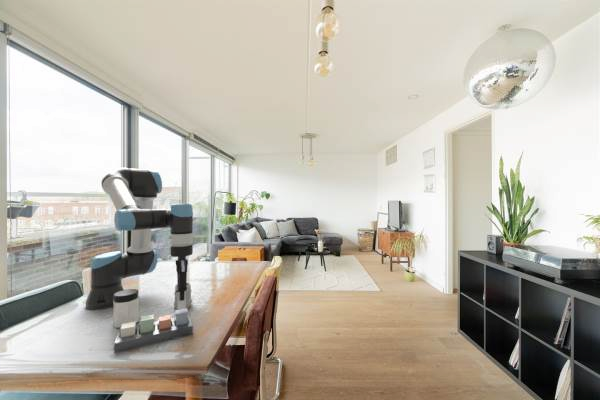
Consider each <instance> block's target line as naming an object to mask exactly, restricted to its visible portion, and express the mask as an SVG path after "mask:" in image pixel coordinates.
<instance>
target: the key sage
mask: <svg viewBox="0 0 600 400" xmlns="http://www.w3.org/2000/svg"><path fill="white" fill-rule="evenodd" d="M154 321H155V314H148V315H143V316H140V319H139V324H140V334H141V333H145V332H150V331H154Z"/></svg>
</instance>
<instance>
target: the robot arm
mask: <svg viewBox="0 0 600 400" xmlns="http://www.w3.org/2000/svg"><path fill="white" fill-rule="evenodd" d="M100 183H101V189H102V190H103V192H104V193H106V194H107V195H109V198H110V200H111V201H112V204H113V206H114V207H115V210H116V211H115V213H114V218H113V219H114V221H113V223H114V227H115V229H116V230H117V231H127V232H128V231H129V232H130V231H131V234H130V235H131V236H130V246H129V247H128V248H126V253H122V251H117V250H115V251H109V252H106V253H102V254H98V255H95V256H94V257H92V259H91V261H90V290H89V293H88V296H87V297H86V301H85V309H87V310H100V309H107V308H112V307H113V300H114V294H115V293H116V292H119V291H122V290H125V289H124V287H123V285H122V281H123V280H122V279H124V278H130V277H135V276H141V275H146V274H150V273H152V272H153V271H155V269H156V267H157V265H158V253H157V251H156V250H155V249H154V247H153V245H151V241H152V230H153V229H155V230H156V229H166V228H167V229H168V228H170V236H168V240H170V245H171V246H170V256H171V257H172V258H177V259H176V260H175V266H176V268H175V269H176V274H177V275H176V278H177V280H176V281H177V283H176V285H177V287H178V288H177V289H178V290H176V292H178V309H177V310H180V309H183V308H186V290H187V287H186V283H187V279H188V277H187V275H188V265H189V260H188V258H186V257H189V256H191V255H193V252H194V251H193V250H194V248H193V243H194V240H193V239H194V236H193V235H194V233H193V228H194V227H193V224H194V223H193V218H194V212H193V211H194V210H193V205H192V204H191V203H172V204H171V205H170V208H167V207H166V208H154V200H155V199H157V197H158V195H159V194H160V193H161V192H162V190H163V181H162V177H161V175H160V173H159V172H158V171H157V170H154V169H147V168H146V169H144V168H143V169H142V168H128V167H117V168H113V169H111V170H110V171H108V172H106V173H105V175H104V176H103V177H102V179H101V182H100Z"/></svg>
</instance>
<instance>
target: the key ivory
mask: <svg viewBox="0 0 600 400" xmlns="http://www.w3.org/2000/svg"><path fill="white" fill-rule="evenodd" d="M136 325H137V322H131V323H125V324H122V326H121V327H120V328H121V338H122V337H127V336H132V335H136Z"/></svg>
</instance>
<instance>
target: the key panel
mask: <svg viewBox="0 0 600 400" xmlns="http://www.w3.org/2000/svg"><path fill="white" fill-rule="evenodd" d="M193 328H194V327H193V322H192V319H191V316H190V314H188V323H187V324H182V325H178V326H176V324H175V316H174V317H171V327H169V328H164V329H159V320H154V331H150V332H145V333H141V334H140V323H139V324H136V335H132V336H127V337H122V338H121V327H119V328H118V330H117V334H116V337H115V341H114V343H113V344H114V346H113V347H114V351H113V352H114V354H115V353H120V352H123V351H124V352H125V351H129V350H132V349H136V348H141V347H145V346H149V345H150V346H151V345H154V344H159V343H162V342H167V341H171V340H174V339H178V338H179V339H180V338H183V337H187V336H191V335H193V333H194V332H193V330H194V329H193Z"/></svg>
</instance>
